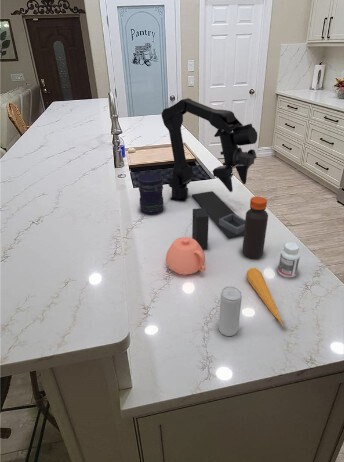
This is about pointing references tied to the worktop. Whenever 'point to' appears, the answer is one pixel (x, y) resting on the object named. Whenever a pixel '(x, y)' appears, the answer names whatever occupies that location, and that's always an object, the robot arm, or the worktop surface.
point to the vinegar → (255, 228)
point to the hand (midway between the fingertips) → (237, 187)
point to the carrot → (262, 290)
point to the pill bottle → (289, 260)
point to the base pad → (221, 214)
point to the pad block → (200, 227)
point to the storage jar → (151, 193)
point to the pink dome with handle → (185, 256)
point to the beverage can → (229, 310)
